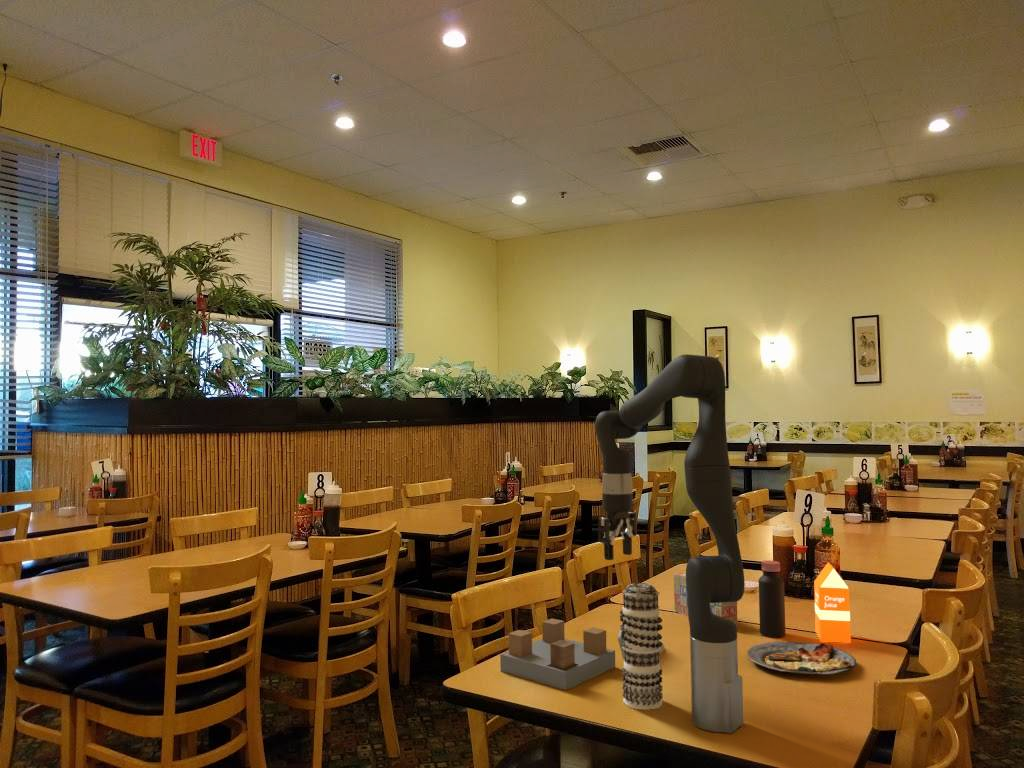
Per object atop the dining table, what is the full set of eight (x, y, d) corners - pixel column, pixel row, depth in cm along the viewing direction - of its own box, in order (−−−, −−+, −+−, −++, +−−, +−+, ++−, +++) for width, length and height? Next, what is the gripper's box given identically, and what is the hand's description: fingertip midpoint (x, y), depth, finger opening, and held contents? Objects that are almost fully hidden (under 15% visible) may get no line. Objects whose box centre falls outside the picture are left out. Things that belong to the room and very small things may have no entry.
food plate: (848, 652, 192) (847, 638, 193) (865, 685, 170) (864, 669, 170) (746, 648, 199) (746, 634, 199) (750, 679, 177) (749, 664, 177)
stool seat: (615, 666, 184) (614, 630, 184) (565, 690, 169) (565, 650, 169) (551, 650, 197) (551, 616, 198) (500, 670, 182) (500, 633, 183)
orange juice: (820, 642, 201) (818, 567, 202) (815, 632, 210) (813, 560, 211) (851, 643, 200) (849, 568, 200) (845, 634, 208) (842, 561, 209)
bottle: (782, 631, 212) (780, 559, 213) (788, 638, 205) (786, 564, 206) (757, 630, 212) (755, 559, 213) (763, 637, 206) (761, 564, 206)
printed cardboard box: (738, 626, 217) (737, 583, 218) (721, 629, 214) (720, 586, 215) (689, 609, 236) (688, 570, 237) (674, 612, 233) (673, 572, 234)
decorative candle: (612, 702, 162) (610, 585, 162) (637, 691, 168) (635, 578, 169) (647, 714, 155) (645, 592, 156) (672, 701, 162) (670, 585, 162)
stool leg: (575, 682, 174) (574, 643, 175) (564, 687, 171) (563, 647, 172) (561, 678, 177) (560, 639, 177) (550, 682, 174) (550, 643, 174)
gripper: (614, 494, 178) (616, 563, 177) (645, 489, 188) (646, 554, 188) (588, 493, 182) (589, 560, 182) (619, 487, 193) (620, 551, 193)
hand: (618, 557), depth 185 cm, fingers open, 8 cm apart
